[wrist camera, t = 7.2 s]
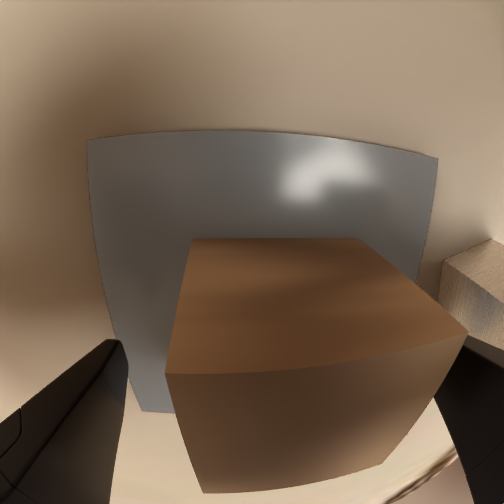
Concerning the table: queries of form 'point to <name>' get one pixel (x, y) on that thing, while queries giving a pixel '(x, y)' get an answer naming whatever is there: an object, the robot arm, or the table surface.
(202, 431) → the walnut block
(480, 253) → the light wood block
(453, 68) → the table surface
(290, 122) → the table surface
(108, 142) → the slate coaster
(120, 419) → the robot arm
